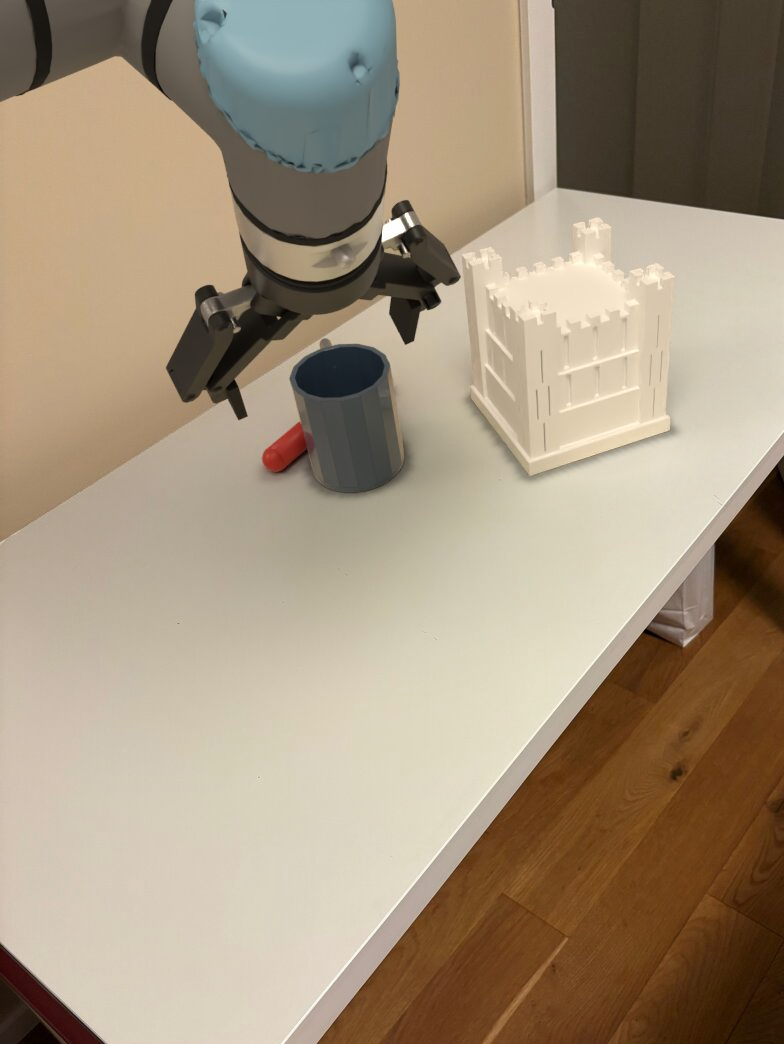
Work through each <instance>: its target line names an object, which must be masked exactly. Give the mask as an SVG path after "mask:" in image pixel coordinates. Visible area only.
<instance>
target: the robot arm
mask: <svg viewBox="0 0 784 1044" xmlns="http://www.w3.org/2000/svg"><path fill="white" fill-rule="evenodd" d="M397 43H398V41H397V19H396V11H395V6H394V2H393V0H0V103H2V102H4V101H7V100H9V99H11V98H14V97H19V96H24V95H25V94H26V93H28V92H31V91H34V90H37V89H39V88H41V87H44V86H46V85H49V84H51V83H53V82H57V81H58V80H61V79H63V78H66V77H69V76H71V75H73V74H75V73H78V72H80V71H83V70H86V69H89V68H90V67H93V66H96V65H98V64H100V63H102V62H105V61H107V60H109V59H112V58H115V57H117V58H119V57H121V58H122V59H123V60H124V61H125V62H127V63H128V64H129V65H130V66H131V67H132V68H133V69H134V70H135V71H137V72H138V73H139V74H140V75H141V76H142V77H143V78H145V79H146V80H147V81H148V82H150V83H151V85H152V86H154V87H155V88H156V89H157V90H158V91H159V92H160V93H161V94H162V95H164V96H165V97H166V98H167V99H168V100H169V101H171V102H172V103H173V104H175V105H176V106H177V107H178V108H179V109H180V110H181V111H182V112H183V113H184V114H185V115H186V116H188V117H189V118H190V120H192V121H193V122H194V123H195V124H196V125H197V126H198V127H199V128H200V129H201V130H202V131H203V132H204V133H205V134H206V135H207V136H209V137H210V138H211V139H212V141H213V142H214V143H215V145H216V146H217V147H218V149H219V150H220V152H221V156H222V160H223V163H224V167H225V173H226V178H227V179H228V180H227V181H228V187H229V189H230V190H229V191H230V195H231V200H232V206H233V211H234V217H235V221H236V225H237V228H238V234H239V239H240V244H241V248H242V255H243V259H244V262H245V267H246V273H245V275H244V277H243V279H242V280H241V287H238V288H236V289H232V290H230V291H228V292H227V291H226V292H225V293H224V292H223V291H217V289H216V288H215V286H214V284H206V285H202V286H201V287H199V288H198V289H197V290H196V291H195V292H194V301H195V309H194V311H193V313H192V315H191V317H190V319H189V321H188V323H187V325H186V327H185V329H184V330H183V333H182V334H181V336H180V338H179V340H178V343H177V344H176V347H175V348H174V350H173V352H172V353H171V354H172V355H171V357H170V358H169V360H168V362H167V364H166V365H165V370H166V372H167V374H168V376H169V378H170V380H171V382H172V384H173V386H174V388H175V390H176V392H177V394H178V396H179V397H180V399H181V402H182V403H186V404H188V403H192V402H194V401H195V400H196V399H198V398H199V397H200V395H201V394H202V392H203V391H206V392H207V394H208V396H209V398H210V399H211V402H212V403H213V404H216V405H217V404H219V403H221V402H223V401H226V400H227V401H228V403H229V405H230V406H231V409H232V412H234V414H235V417H236V419H237V421H240V420H243V419H245V418H248V416H249V415H248V412H247V409H246V406H245V403H244V399H243V396H242V393H241V391H240V387H239V385H238V383H237V381H236V378H238V376H239V375H240V374H241V373H242V372H243V371H244V370H245V369H246V368H247V367H248V366H249V364H251V363H252V362H253V361H254V360H255V359H256V358H257V357H258V356H259V355H260V353H261V352H262V351H264V349H265V348H266V347H267V346H269V345H270V344H271V342H272V341H283V340H285V339H286V338H287V337H288V336H289V335H290V334H291V333H292V332H293V331H294V330H295V329H296V328H297V327H298V326H299V325H300V323H302V322H303V321H308V320H310V319H311V318H312V317H313V316H321V315H328V314H332V313H336V312H339V311H342V310H344V309H346V308H348V307H349V306H352V305H353V304H354V303H356V302H357V301H358V300H364V301H370V302H371V301H373V300H374V299H376V297H378V296H384V297H390V300H389V301H390V302H389V310H388V315H389V316H390V318H391V321H392V322H393V325H394V326H395V328H396V330H397V332H398V334H399V337H400V338H401V340H402V342H403V343H404V346H407V345H409V344H411V343H414V342H415V338H416V333H417V329H418V324H419V320H420V315H421V312H424V311H432V310H434V309H436V308H437V307H439V306H440V305H441V304H442V299H441V297H440V295H439V293H438V292H437V290H436V287H437V286H439V285H440V284H443V285H444V286H445V287H449V286H453V285H455V284H456V283H458V282H459V281H460V280H461V278H462V276H461V274H460V272H459V270H458V267H457V266H456V264H455V262H454V260H453V258H452V257H451V254H450V253H449V251H448V249H447V247H446V245H445V243H443V242H442V240H440V239H439V238H438V237H437V236H435V235H434V234H433V233H431V231H429V229H427V228H426V227H425V226H423V225H422V223H421V221H420V218H419V216H418V215H417V213H416V211H415V209H414V208H413V206H412V204H411V202H410V200H409V199H404V200H400V201H398V202H397V203H395V204H394V205H393V207H392V208H391V211H390V213H391V217H389V218H387V219H386V220H385V221H383V220H384V211H385V200H386V187H387V181H388V153H389V146H390V140H391V134H392V127H393V122H394V118H395V115H396V109H397V108H396V107H397V104H398V102H399V96H400V95H399V94H400V87H401V86H400V85H401V80H400V79H401V78H400V70H399V60H398V47H397ZM383 222H384V224H383ZM387 249H392V250H393V251H395V252H398V251H399V253H400V254H396V253H390V252H385V250H387Z"/></svg>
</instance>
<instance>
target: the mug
mask: <svg viewBox="0 0 784 1044" xmlns="http://www.w3.org/2000/svg"><path fill="white" fill-rule="evenodd" d="M288 379H289V380H288V381H289V383H290V387H291V391H292V395H293V399H294V403H295V406H296V411H297V415H298V419H299V421H300V423H301V427H302V431H303V435H304V439H305V443H306V447H307V449H306V450H307V454H308V458H309V462H310V466H311V469H312V473H313V476H314V478H315V479H316V481H317V482H318V483H319V484H320V485H322V486H323V487H325V488H326V489H328V490H332V491H335V492H339V493H351V494H352V493H362V492H367V491H371V490H374V489H376V488H379V487H381V486H384V485H385V484H387V483H388V482H390V481H391V480H392V479H394V478H395V477H396V476H397V475H398V474H399V472H400V471H401V469H402V467H403V465H404V462H405V454H404V452H405V449H404V443H403V437H402V436H403V435H402V430H401V424H400V418H399V410H398V405H397V399H396V393H395V392H396V391H395V386H394V380H393V374H392V368H391V364H390V362H389V359H388V357H387V355H386V354H385V353H384V352H383V351H381V350H379V349H377V347H374V346H371V345H366V344H361V343H338V344H332V341H331V340H330V339H329V338H327V337H323V338H322V339H321V340H320V341H319V348H318V349H317V350H315V351H313V352H310V353H309V354H306V355H305V356H303V357H302V358H301V359H300V360H299V361H298V362H297V363H296V364H295V365H293V367H292V370H291V372H290V374H289V378H288Z"/></svg>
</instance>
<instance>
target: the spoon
mask: <svg viewBox="0 0 784 1044" xmlns="http://www.w3.org/2000/svg"><path fill="white" fill-rule="evenodd" d="M306 450H307V447H306V443H305V439H304V435H303V431H302V427H301V423H300V420H299V421H298V422H297V423H296V424H294V425H293V426H292V427H290V429H288V430H287V431H286V432H285V433H283V435H281V436H280V437H279V438H278V439H276V440H275V441H274V442H273V443H272V444H270V445H269V446H268V447H267V448H265V449H264V451H263V453H262V456H261V461H262V465H263V466H264V468H265V469H266V470H268V471H270V472H272V473H273V472H274V473H278V472H281V471H283V470H284V469H286V467H288V466H289V465H290V464H291V463H292V462H293V461H295V459H297V458H298V457H299V456H301V454H303V453H304V452H305V451H306Z"/></svg>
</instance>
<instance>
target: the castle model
mask: <svg viewBox="0 0 784 1044" xmlns="http://www.w3.org/2000/svg"><path fill="white" fill-rule="evenodd" d="M478 254H479V257H476V253H475V252H474V251H470V252H466V253H462V254H461V263H462V264H461V265H462V273H463V275H462V276H463V285H464V294H465V295H464V296H465V304H466V315H467V326H468V327H467V328H468V336H469V337H468V338H469V345H470V355H471V367H472V376H473V377H472V378H473V384H471V385H469V393H470V399H471V401H472V402H473V404H475V406H476V407H477V408H478V410H479V411H480V412H481V414H482V415H483V416H484V418H485V419H486V420H487V421H488V423H489V425H491V427H492V428H493V429H494V431H495V432H496V433H497V435H498V436H499V438H500V439H501V440H502V442H503V444H505V446H506V447H507V448H508V450H509V451H510V452H511V453H512V455H513V456H514V457H515V459H516V461H518V463H519V464H520V466H521V467H522V468H523V469H524V470H525V472H526V474H528V476H529V477H532V476H534V475H537V474H540V473H544V472H547V471H550V470H552V469H556V468H558V467H562V466H565V465H568V464H571V463H574V462H577V461H580V460H583V459H586V458H589V457H592V456H595V455H598V454H602V453H605V452H607V451H611V450H614V449H617V448H620V447H623V446H626V445H630V444H633V443H635V442H639V441H642V440H645V439H647V438H651V437H654V436H657V435H660V434H663V433H666V432H669V431H671V421H672V420H671V419H672V418H671V416H670V415H669V414H668V413H667V398H668V397H667V396H668V384H669V369H670V368H669V367H670V354H671V353H670V352H671V341H672V325H673V313H674V312H673V311H674V298H675V297H674V296H675V285H676V284H675V281H676V276H675V275H673V274H672V273H671V272H669V271H668V270H667V271H665V268H664V267H663V266H662V265H661V264H659V263H658V262H656V263H652V264H648V265H646V266H645V269H643V268H641V267H638V268H635V269H632V270H631V269H630V270H629V275H628V277H626V278H625V272H624V271H623V270H622V269H620V268H618V269H616V268H615V267H616V265H615V264H614V263H613V262H612V226H610V225H609V224H608V223H607V222H606V223H604V220H603V219H601V218H600V217H599V216H597V217H594V218H590V219H588V220H587V227H586V222H584V221H579V222H575V223H573V224H572V252H570V253H569V254H568V261H565V259H564V258H563V257H562V256H556V257H553V258H551V261H550V263H551V266H547V265H546V263H545V262H544V261H538V262H534V263H533V264H532V265H533V266H532V267H533V271H529V270H528V268H526V266H520V267H516V268H515V270H514V272H515V273H514V274H515V276H512V277H510V274H509V272H507V271H503V270H504V269H503V258H502V256H501V255H499V253H496V251H495V249H494V248H493V247H492V246H488V247H485V248H481V249H478Z"/></svg>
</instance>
